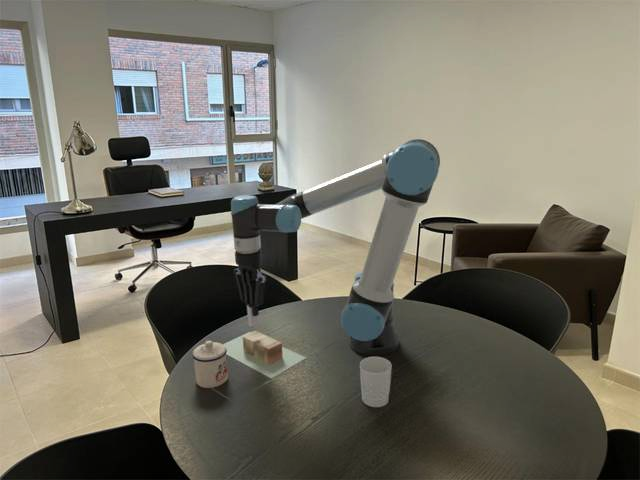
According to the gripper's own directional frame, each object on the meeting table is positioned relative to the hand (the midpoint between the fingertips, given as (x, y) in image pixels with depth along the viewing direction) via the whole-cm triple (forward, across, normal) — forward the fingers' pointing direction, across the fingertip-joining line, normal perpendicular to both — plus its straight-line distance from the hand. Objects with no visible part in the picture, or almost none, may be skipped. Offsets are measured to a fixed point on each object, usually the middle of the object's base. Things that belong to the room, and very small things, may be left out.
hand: (253, 324), depth 139 cm
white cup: (+10, +42, +4) cm, 43 cm away
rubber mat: (+9, +2, 0) cm, 9 cm away
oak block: (+6, -2, 0) cm, 7 cm away
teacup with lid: (+9, +2, -16) cm, 19 cm away
